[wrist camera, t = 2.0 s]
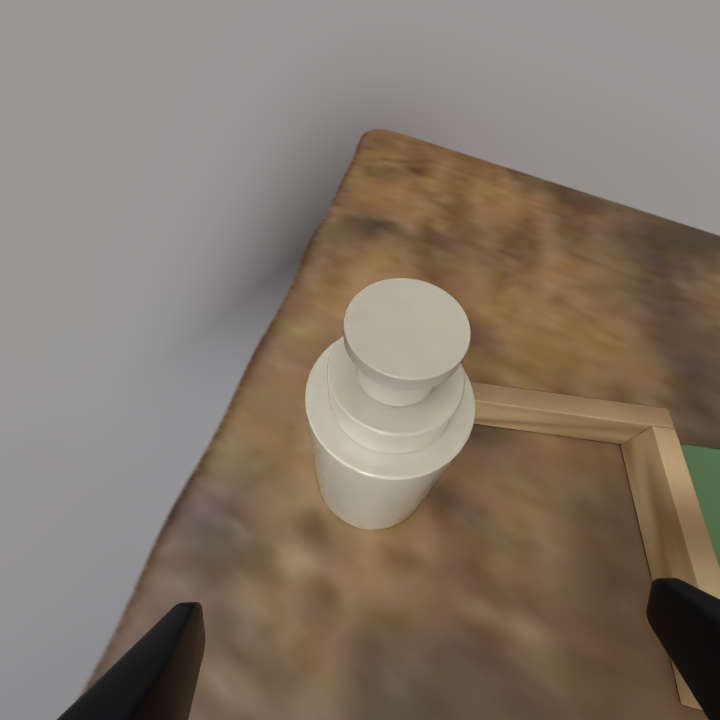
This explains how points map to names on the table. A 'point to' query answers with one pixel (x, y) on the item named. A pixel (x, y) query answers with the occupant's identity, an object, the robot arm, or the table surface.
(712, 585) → the corner rails
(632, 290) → the table surface
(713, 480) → the green cloth
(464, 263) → the table surface
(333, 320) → the table surface
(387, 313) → the lidded jar
